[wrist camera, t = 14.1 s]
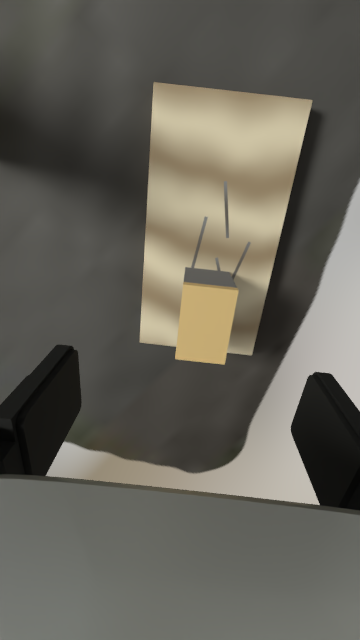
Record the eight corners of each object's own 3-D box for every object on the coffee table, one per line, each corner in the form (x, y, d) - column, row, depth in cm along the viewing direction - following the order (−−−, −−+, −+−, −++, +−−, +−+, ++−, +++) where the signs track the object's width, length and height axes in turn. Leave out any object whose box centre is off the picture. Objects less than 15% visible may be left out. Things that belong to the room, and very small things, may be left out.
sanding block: (185, 267, 28) (183, 284, 22) (229, 271, 28) (238, 290, 22) (178, 328, 31) (175, 359, 25) (218, 333, 31) (224, 364, 25)
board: (156, 89, 24) (153, 82, 23) (305, 106, 24) (312, 100, 23) (142, 336, 34) (139, 342, 32) (249, 348, 34) (251, 355, 32)
